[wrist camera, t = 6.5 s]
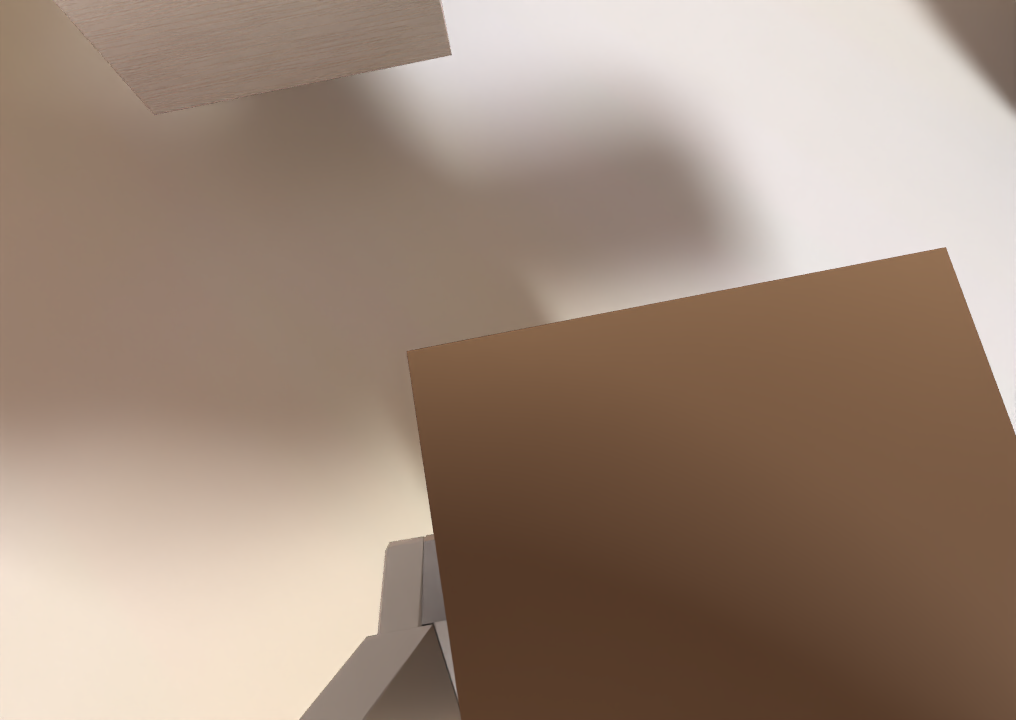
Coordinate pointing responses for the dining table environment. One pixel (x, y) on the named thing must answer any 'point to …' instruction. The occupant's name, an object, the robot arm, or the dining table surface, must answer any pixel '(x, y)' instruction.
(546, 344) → the rail
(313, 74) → the bracket
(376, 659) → the robot arm
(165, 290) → the dining table surface
